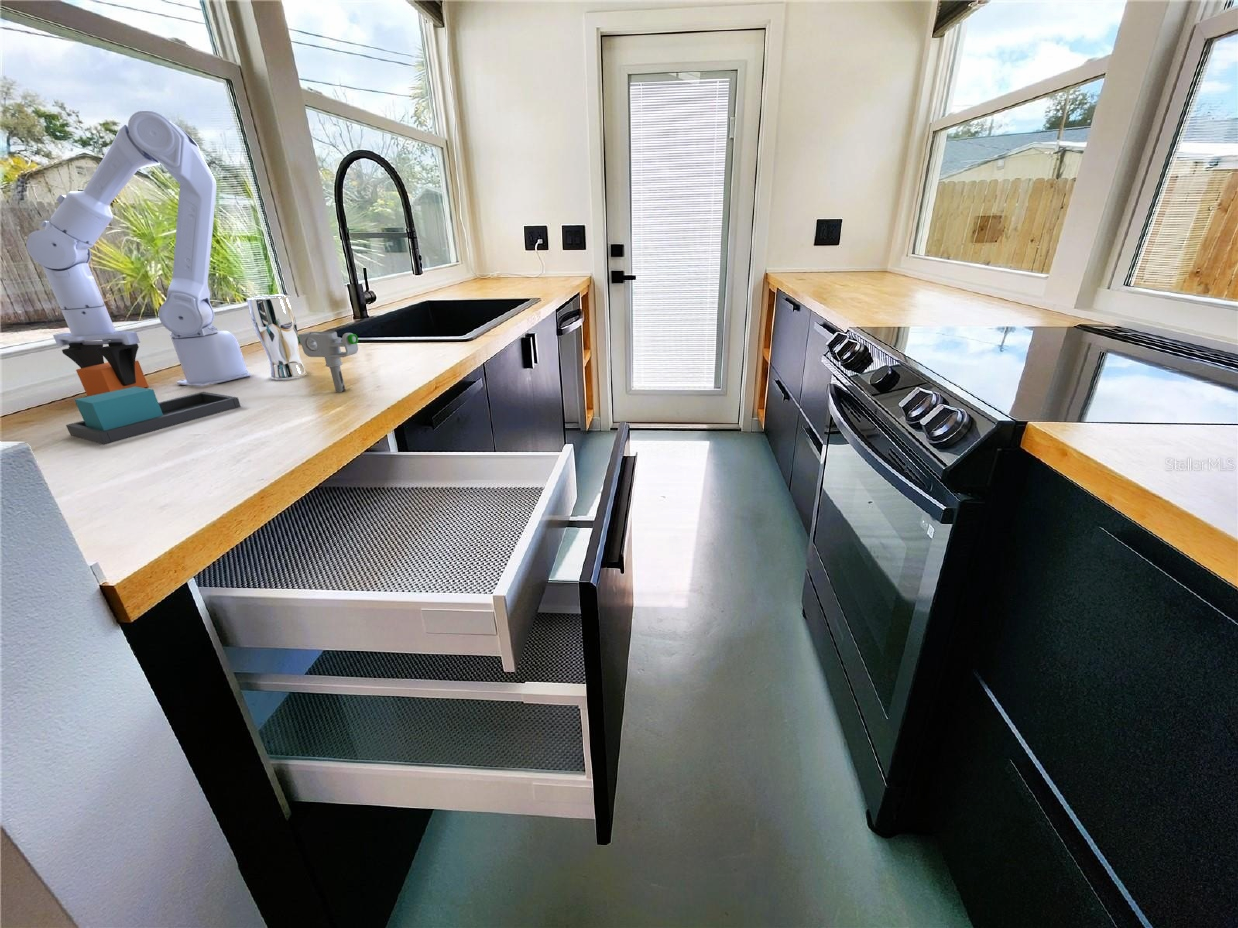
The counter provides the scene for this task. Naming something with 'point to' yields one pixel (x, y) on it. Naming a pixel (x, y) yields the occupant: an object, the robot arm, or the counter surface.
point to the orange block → (107, 379)
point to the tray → (160, 417)
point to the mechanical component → (330, 351)
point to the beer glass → (277, 335)
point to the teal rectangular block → (118, 408)
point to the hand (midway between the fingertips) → (115, 384)
